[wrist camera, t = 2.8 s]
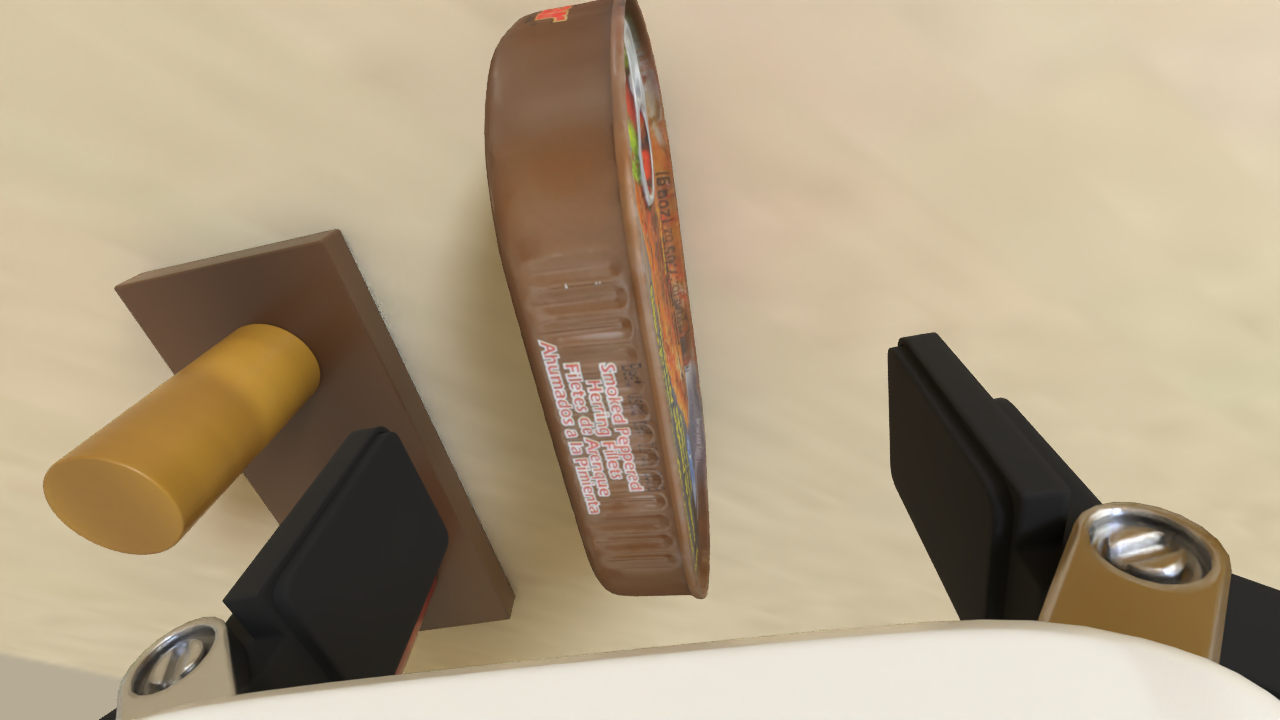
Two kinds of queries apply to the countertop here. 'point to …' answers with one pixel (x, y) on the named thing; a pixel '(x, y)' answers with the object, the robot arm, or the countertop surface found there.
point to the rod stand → (266, 413)
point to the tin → (602, 286)
